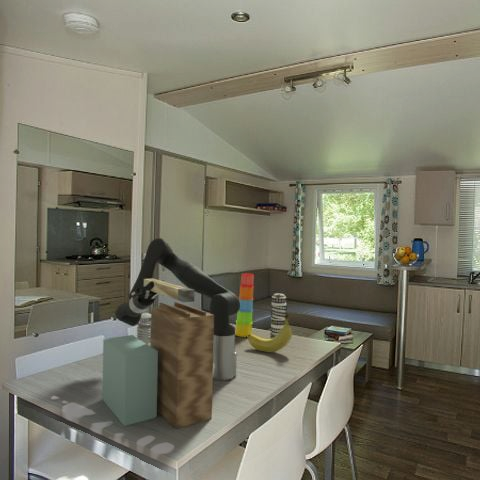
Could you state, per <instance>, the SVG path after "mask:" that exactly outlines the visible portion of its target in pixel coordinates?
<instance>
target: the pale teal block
mask: <svg viewBox="0 0 480 480" xmlns="http://www.w3.org/2000/svg"><path fill="white" fill-rule="evenodd" d="M102 342H103V343H102V344H103V345H102V348H103V350H102V387H101V389H102V393H101V394H102V395H101V396H102V397H101V398H102V399H101V400H102V401H103V403H105V405H106V406H107V407H108V409H110V411H111V412H112V413H113V414H114V415H115V416H116V418H117V419H118V420H119V421H120V423H121V424H122V425H123V426H124V427H126V426H131V425H134V424H137V423H138V424H139V423H142V422H145V421H149V420H152V419H156V418H157V414H158V413H157V412H158V411H157V370H158V351H157V350H155V349H154V348H152V347H151V345H147V344H146V343H144V342H143V341H141V340H139V339H138V338H137V336H135V335H132V334H131V335H122V336H114V337H107V338H103V341H102Z"/></svg>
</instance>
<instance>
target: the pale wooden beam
mask: <svg viewBox="0 0 480 480" xmlns="http://www.w3.org/2000/svg"><path fill="white" fill-rule="evenodd" d="M151 281H153V282H154V287H153V288H152V289H151V290H150V291H153V292H156V293H158V294H159V295H162V296H163V295H164V297H166V298H167V297H168V298H170V299H174V300H176V301H179V302H180V303H191V302H195V297H196V295H195V293H196V292H195V290H193V289H190V288H188V287H186V286H181V285H177V284H173V283H170V282H167V281H164V282H163V281H162V280H159V279H156V278H153V279H144V286H145V285H147V284H148V283H150V282H151Z"/></svg>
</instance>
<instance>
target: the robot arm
mask: <svg viewBox="0 0 480 480" xmlns="http://www.w3.org/2000/svg"><path fill="white" fill-rule="evenodd" d="M157 264H159V265H161V266H162V267H164V268H165V269H167V270H168V271H170V273H172V274H173V275H174V276H175V278H176V279H177V280H178V281H180V282H181V283H182V284H183V286H184V287H185V288H190V289H193V290H195V293H197V294H200V295H202V296H205V297H207V298H209V299H210V303H209V313H210V314H213V315H214V341H213V363H214V364H215V368H214V373H213V380H216V381H229V379H230V380H232V379H234V378H235V377H234V376H236V377H237V357H238V354H237V352H236V350H235V349H236V348H235V347H236V346H235V345H236V344H235V343H236V341H235V340H236V335H235V332H236V326H234V325H233V324H231V323H230V316H232V315H235V314H237V312H238V311H239V309H240V301H239V298H238V297H239V296H237V295H236V294H235V293H233V292H232V291H231V290H229V289H227V288H225V287H224V286H222V285H221V284H219V283H218V282H216V281H215V279H213V278H212V277H210V275H207V274H206V273H205V272H204V271H203V270H201V269H200V268H199V267H198V266H196V265H195V264H193V263H192V262H190V261H186V260H184V259H182V258H181V257H180V256H179V255H178V254H177V253H176V252H175V251H174V250H173V249H172V248H171V246H170V245H169V243H168V242H167V241H166V240H165V239H164V238H163V237H158V238H154V239H152V240H151V241H150V243H149V245H148V247H147V248H146V253H145V256H144V258H143V262H142V265H141V268H140V271H139V273H138V276H137V277H136V280H135V282H134V285H133V286H132V288H131V290H130V292H129V294H128V299H129V301H125V302H123V303H121V304H119V305H118V306H117V308H116V309H115V311H114V312H115V313H114V317H115V319H116V320H117V321H120V322H122V323H124V324H126V325H129V326H131V327H135V326H138V324H139V323H141V322H140V321H141V320H142V319H141V315H142V313H145V312H146V311H147V309H148V310H149V308H150V307H151V306H152V305H153V304H154V303H155V300H156V298H157V297H159V295H160V294H158V293H156V292H153V291H150V290H151V289H152V288H153V287H154V282H153V281H151V282H150V283H148V284H147V285H145V286H144V279H154V274H155V273H154V272H155V268H156V265H157ZM161 281H163V282H165V280H162V279H161ZM162 296H164V295H162ZM164 297H165V296H164ZM233 377H234V378H233ZM231 378H232V379H231Z"/></svg>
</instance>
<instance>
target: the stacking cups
mask: <svg viewBox="0 0 480 480" xmlns="http://www.w3.org/2000/svg"><path fill="white" fill-rule="evenodd" d="M254 277H255V276H254V273H241V279H240V285H239V296H237V297H238V299H239V301H240V309H239V311H238V312H237V313H236V320H235V323H236V324H235V337H236V336H237V337H240V338H247V337H246V336H248V335H249V334H251V333H252V327H253V324H254V323H253V312H254V309H253V307H254V305H253V304H254V288H255V286H254Z"/></svg>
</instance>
